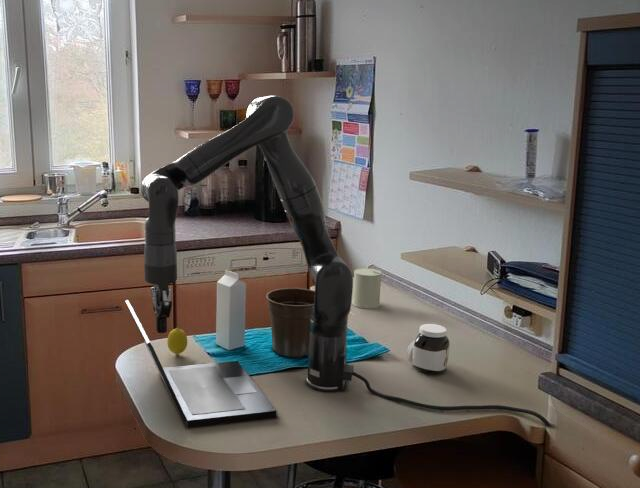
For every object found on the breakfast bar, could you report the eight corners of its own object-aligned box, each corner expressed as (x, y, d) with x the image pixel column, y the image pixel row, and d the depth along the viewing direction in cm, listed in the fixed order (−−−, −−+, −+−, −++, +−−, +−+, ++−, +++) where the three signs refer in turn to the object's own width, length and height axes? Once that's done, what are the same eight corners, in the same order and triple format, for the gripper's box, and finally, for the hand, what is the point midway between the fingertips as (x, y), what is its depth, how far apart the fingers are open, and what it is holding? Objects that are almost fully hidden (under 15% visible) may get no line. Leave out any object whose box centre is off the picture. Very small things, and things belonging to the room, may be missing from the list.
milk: (228, 350, 209) (230, 276, 204) (215, 344, 213) (216, 271, 208) (245, 345, 212) (246, 272, 207) (231, 339, 217) (233, 267, 212)
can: (376, 310, 244) (378, 275, 242) (349, 306, 248) (351, 272, 245) (382, 302, 252) (384, 268, 250) (355, 298, 256) (357, 265, 254)
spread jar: (434, 379, 191) (438, 336, 188) (395, 367, 198) (398, 326, 196) (454, 365, 200) (458, 325, 197) (415, 354, 207) (418, 315, 204)
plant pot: (260, 357, 204) (261, 302, 200) (268, 337, 219) (270, 285, 215) (319, 363, 200) (322, 307, 196) (324, 342, 215) (326, 290, 212)
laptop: (237, 367, 197) (237, 360, 197) (276, 417, 169) (276, 410, 169) (160, 374, 192) (160, 367, 192) (187, 428, 164) (187, 420, 163)
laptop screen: (128, 299, 185) (125, 300, 185) (150, 341, 157) (146, 343, 157) (160, 367, 192) (157, 369, 192) (187, 420, 164) (184, 422, 163)
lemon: (180, 360, 201) (180, 332, 200) (163, 356, 204) (163, 328, 202) (191, 353, 206) (191, 326, 204) (174, 349, 209) (174, 323, 207)
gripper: (183, 267, 164) (183, 340, 168) (170, 253, 176) (171, 321, 180) (150, 269, 162) (151, 343, 166) (139, 255, 175) (140, 324, 179)
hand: (161, 331), depth 173 cm, fingers closed
